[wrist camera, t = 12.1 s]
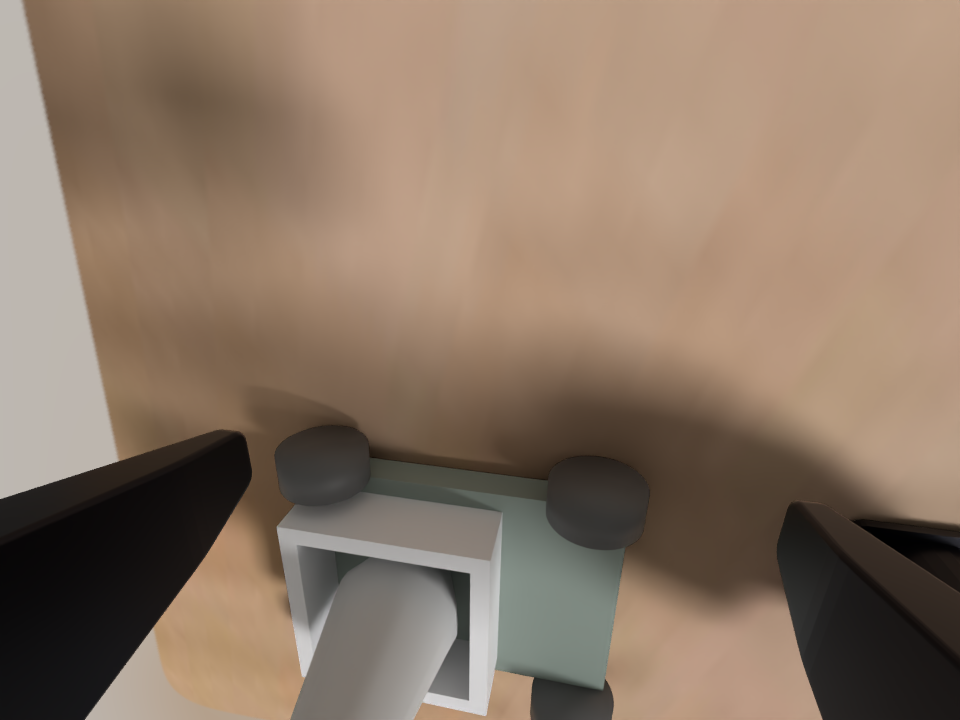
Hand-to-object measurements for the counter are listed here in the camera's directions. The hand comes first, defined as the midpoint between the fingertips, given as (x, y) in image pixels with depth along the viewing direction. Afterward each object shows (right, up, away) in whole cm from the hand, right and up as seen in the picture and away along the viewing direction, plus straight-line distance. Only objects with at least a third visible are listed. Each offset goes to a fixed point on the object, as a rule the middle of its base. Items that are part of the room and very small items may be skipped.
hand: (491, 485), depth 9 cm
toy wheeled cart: (-1, -8, +18) cm, 20 cm away
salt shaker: (-3, -8, +17) cm, 20 cm away
